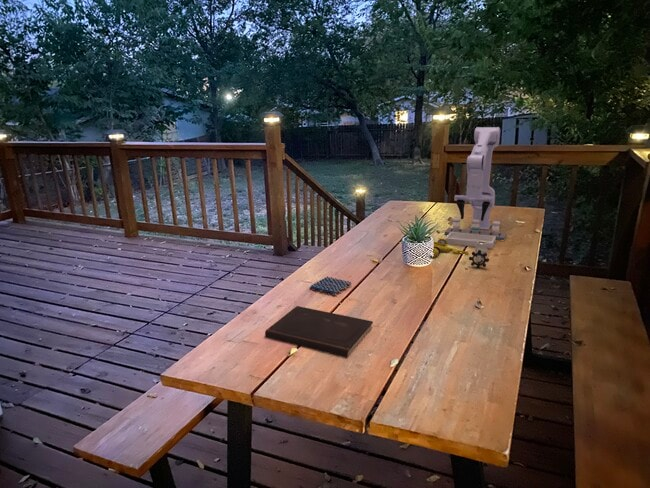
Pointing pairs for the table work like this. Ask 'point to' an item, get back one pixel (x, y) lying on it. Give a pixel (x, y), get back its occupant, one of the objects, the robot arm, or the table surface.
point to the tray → (469, 239)
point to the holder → (500, 237)
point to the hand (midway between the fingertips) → (472, 219)
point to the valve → (480, 254)
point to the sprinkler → (445, 248)
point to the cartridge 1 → (456, 224)
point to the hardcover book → (320, 330)
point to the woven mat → (330, 286)
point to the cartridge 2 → (495, 228)
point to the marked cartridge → (475, 226)
